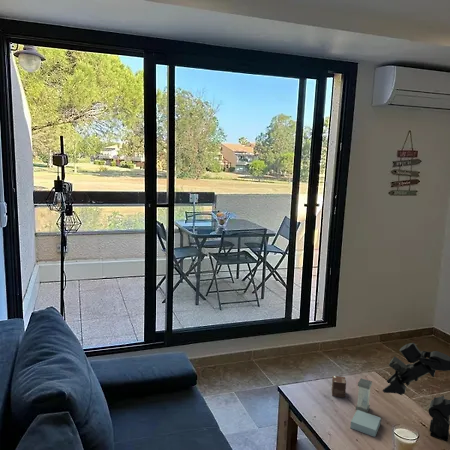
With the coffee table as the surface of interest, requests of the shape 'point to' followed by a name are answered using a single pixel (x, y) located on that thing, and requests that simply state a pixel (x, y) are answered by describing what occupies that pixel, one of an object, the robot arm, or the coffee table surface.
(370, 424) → the stand
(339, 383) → the box
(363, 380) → the housing
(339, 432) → the coffee table surface
